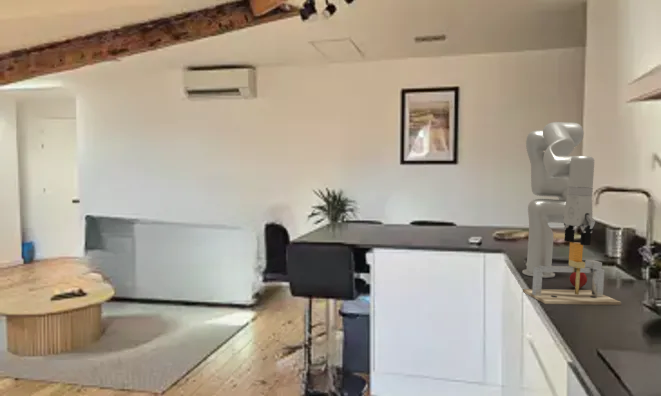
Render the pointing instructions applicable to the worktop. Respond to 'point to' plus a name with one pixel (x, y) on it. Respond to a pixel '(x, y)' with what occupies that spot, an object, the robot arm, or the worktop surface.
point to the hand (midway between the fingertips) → (577, 243)
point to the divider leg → (576, 261)
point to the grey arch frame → (590, 267)
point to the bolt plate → (571, 297)
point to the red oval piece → (582, 279)
